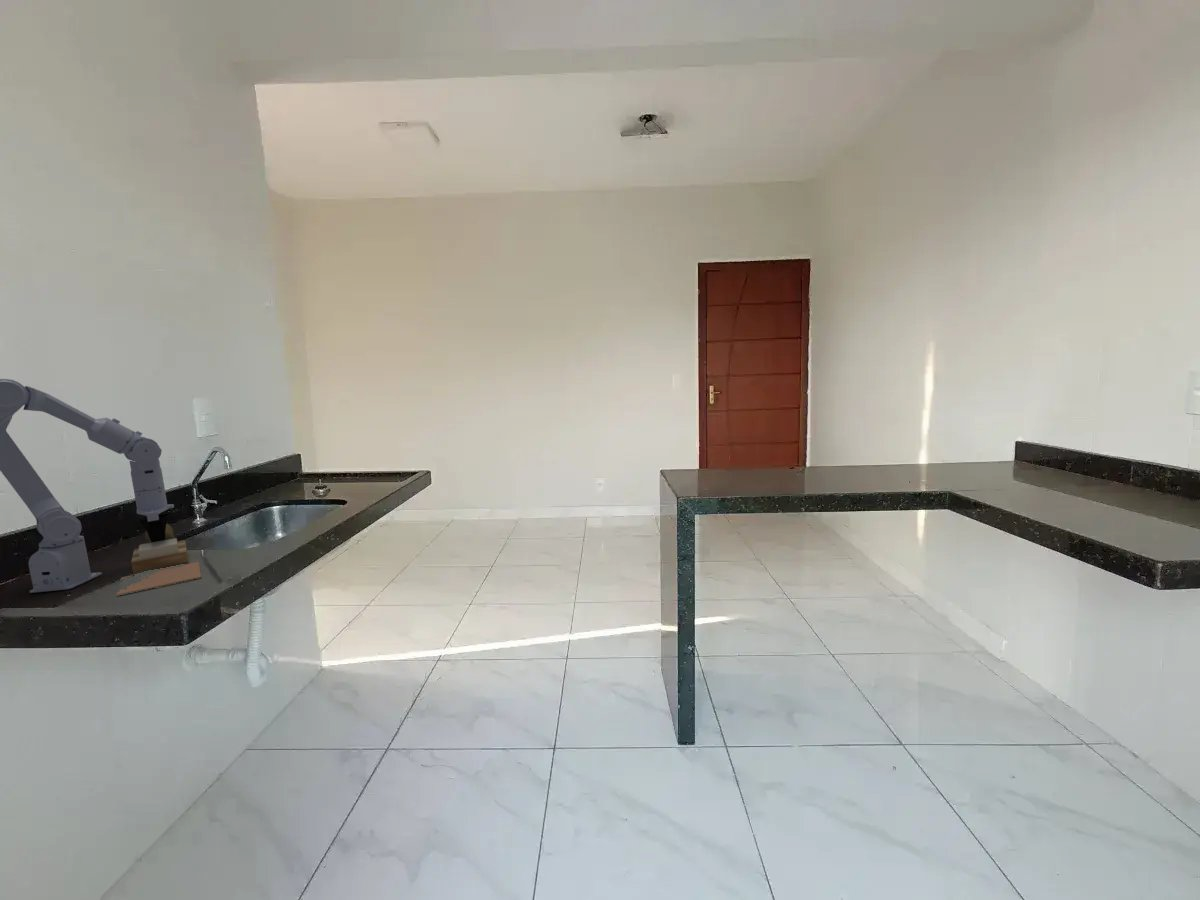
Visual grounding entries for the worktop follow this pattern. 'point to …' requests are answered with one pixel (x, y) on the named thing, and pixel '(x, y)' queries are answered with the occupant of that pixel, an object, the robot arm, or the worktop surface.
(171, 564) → the wooden bridge block
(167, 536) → the olive green rounded cylinder
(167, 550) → the coaster
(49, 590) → the robot arm
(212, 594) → the worktop surface
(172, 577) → the mat
